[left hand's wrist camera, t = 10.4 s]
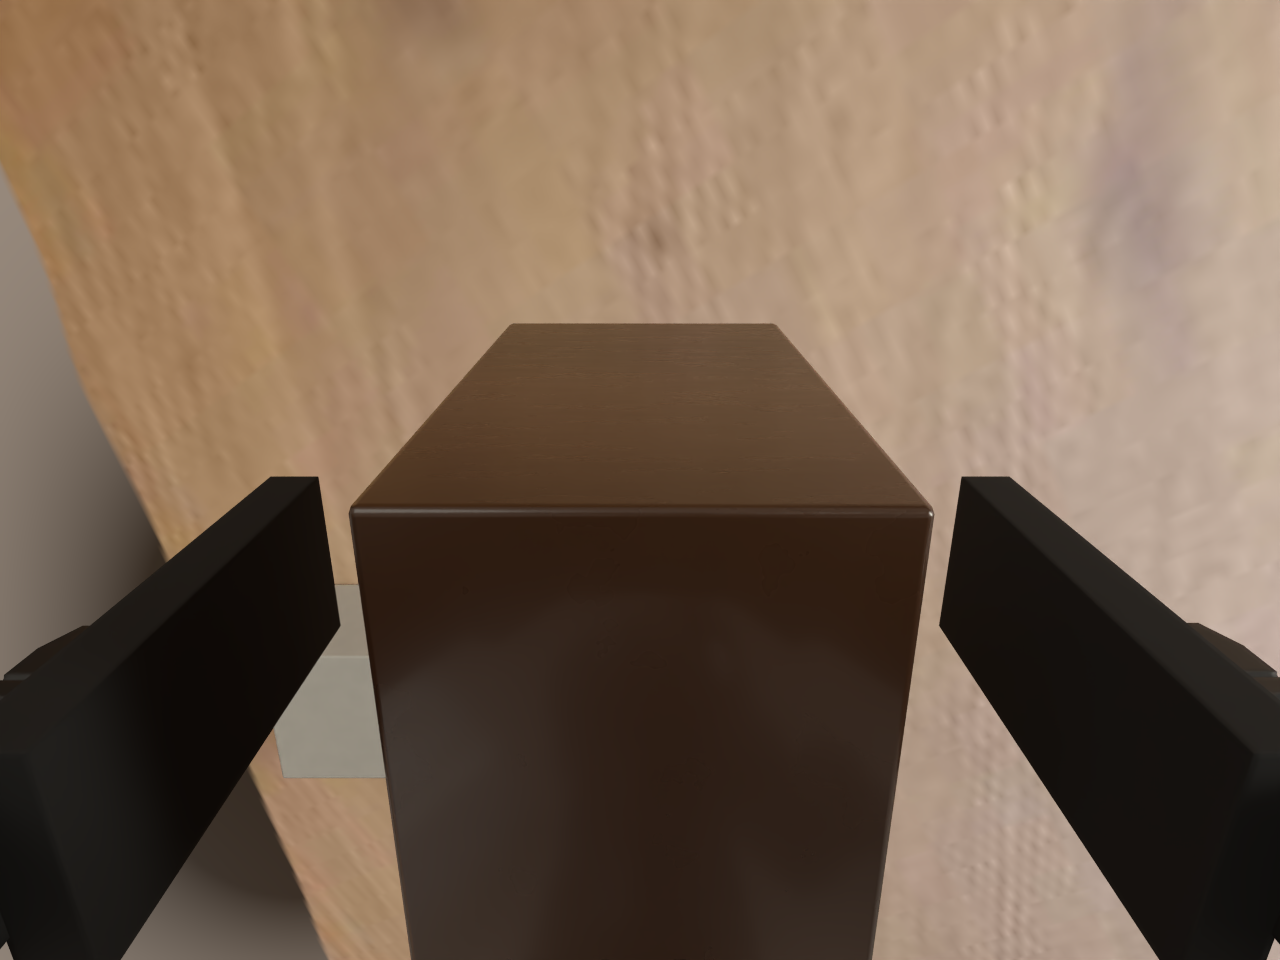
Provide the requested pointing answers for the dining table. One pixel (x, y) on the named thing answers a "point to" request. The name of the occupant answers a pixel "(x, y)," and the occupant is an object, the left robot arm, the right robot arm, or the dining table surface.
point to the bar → (641, 651)
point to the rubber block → (335, 707)
